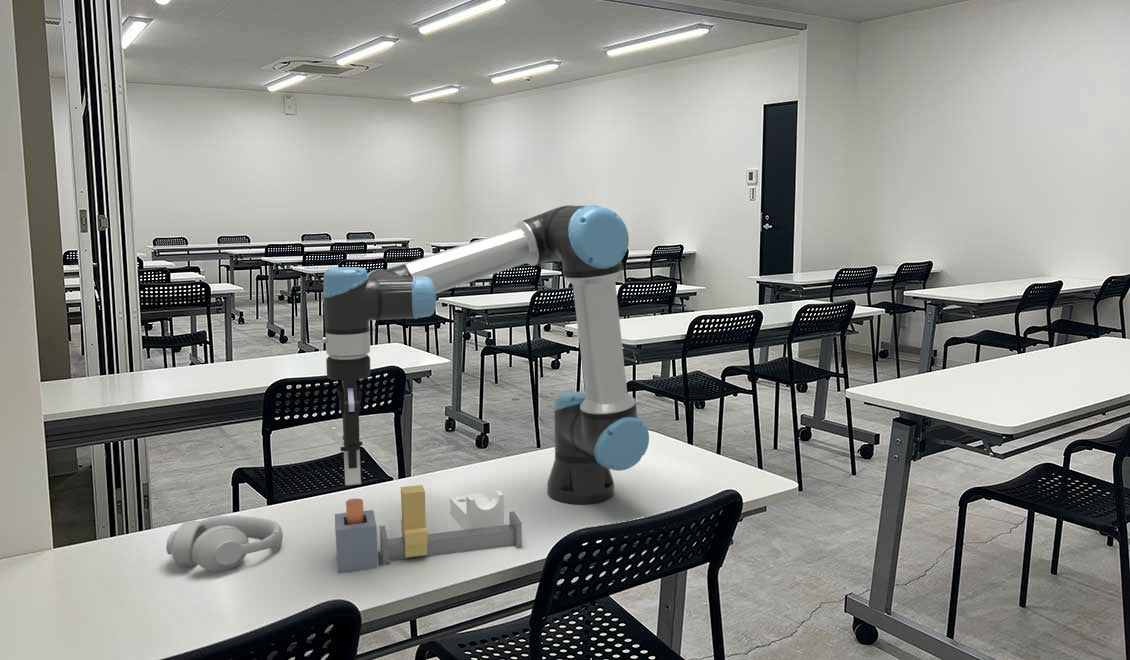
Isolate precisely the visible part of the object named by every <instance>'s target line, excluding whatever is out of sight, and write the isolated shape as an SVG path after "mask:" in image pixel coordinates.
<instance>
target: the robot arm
mask: <svg viewBox="0 0 1130 660" xmlns="http://www.w3.org/2000/svg"><path fill="white" fill-rule="evenodd" d="M629 236H630V235H629V232H628V227H627V225H626V224H625V221H624V220H623V218H621V217H620V215H618V214H617V213H616V212H615V211H613V210H612V209H610V208H607V207H603V206H599V205H594V204H593V205H570V204H569V205H563V206H561V205H560V206H558V207H555V208H553V209H550V210H548V211H545V212H542V213H539V214H537V215H534V216H532V217H529V218H525V219H524V220H520V221H518V222H517V223H516V224H515V227H514V228H512V229H509V230H505V231H502V232H499V233H496V234H493V235H492V234H491V235H489V236H487V237H483V238H480V239H477V240H474V241H471V242H468V243H466V244H462V245H459V246H455V247H453V248H449V249H447V250H443V251H439V252H436V253H433V254H431V255H427V256H425V257H422V258H417V259H415V260H412V261H409V262H406V263H403V264H400V265H396V266H393V267H391V268H387V269H379V268H378V269H374V270H371V271H370V272H368V271H367V269H366V268H365V267H357V266H356V267H355V266H353V267H349V266H347V267H346V266H345V267H343V266H341V267H332V268H331V267H330V268H328V269H327V270H326V271H325V272H324V273H323V291H322V297H323V310H324V311H323V312H324V328H325V329H324V330H325V331H324V332H325V337H322V338H321V342H322V343H323V344H325V352H326V355H328V357H326V359H325V360H326V361H325V362H326V363H325V364H326V377H327V378H328V379H329V380H332V381H341V386H339V385H338V386H337V396H338V399H339V409H340V414H341V415H342V429H343V430H342V432H343V433H342V434H343V435H342V440H343V443H342V444H343V446H340V452H343V462H344V465H343V466H344V485H345V486H353V485H361V484H362V480H361V479H362V478H361V477H362V476H361V473H362V472H361V450H360V449H361V446H363V440H360V412H361V399H362V397H363V396H362V387H361V384H358V385H357V381H358V380H364V379H366V378H368V377H370V375H371V371H372V370H371V357H370V355H368V354H369V353H370V352H371V341H370V340H371V337H370V336H371V335H370V321H383V320H384V321H385V320H403V319H404V320H406V319H414V320H417V319H419V318H427V317H431V316H432V315H433V314H434V312H435V310H436V307H437V294H438V293H441V292H443V291H447V290H450V289H453V288H457V287H460V286H463V285H465V284H467V283H471V282H473V281H476V280H479V279H483V278H486V277H488V276H492V275H495V274H498V273H500V272H504V271H506V270H510V269H512V268H516V267H518V266H521V265H524V264H528V265H529V266H532V267H534V266H537V265H539V264H543V263H549V262H562V271H563V272H562V273H563V277H564V279H565V280H566V281H568V282H569V283H570V284H571V285H572V290H573V297H574V298H573V299H574V300H573V301H574V307H575V316H576V326H577V331H578V332H577V333H578V339H579V350H580V358H581V366H582V373H583V375H582V376H583V384H584V389H585V391H573V392H566V393H562V394H559V395H558V396H557V397H556V399H555V401H554V410H553V413H554V461H553V463H552V464H553V465H552V467H551V470H550V473H549V476H548V479H547V488H546V489H547V495H548V496H549V497H550V498H551V499H554V500H556V501H558V502H563V503H566V504H567V503H568V504H575V505H578V504H579V505H580V504H581V505H585V504H587V505H588V504H596V503H599V502H600V503H601V502H604V501H606V500H609V499H611V498H612V497H613V496H614V495H615V481H614V478H613V476H612V472H611V470H612V471H621V472H622V471H625V470H628V469H630V468H633V467H634V466H636V465H637V464H638V463H639V462H640V461H641V459H642V457H643V456H644V455H646V453H647V450H648V447H649V445H650V433H649V430H648V428H647V425H646V424H645V423H644V422H643V421H642V420H641V419H639V418H638V411H637V402H636V398H634V397H633V396H632V395H631V394H630V393H628V387H627V379H626V370H625V368H626V367H625V361H624V360H625V359H624V349H623V341H622V340H623V339H622V333H621V332H622V331H621V323H620V312H619V304H618V303H619V302H618V295H617V294H618V293H617V287H616V286H617V285H616V280H617V278H618V277H619V275H621V273H622V270H623V269H622V260H623V259H624V256H625V254H626V253H627V252H628V248H629V241H630V240H629V239H630V237H629Z"/></svg>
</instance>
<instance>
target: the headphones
mask: <svg viewBox="0 0 1130 660" xmlns="http://www.w3.org/2000/svg"><path fill="white" fill-rule="evenodd" d="M248 537H252V538H257V537H258V539H261V540H258V541H252V542H249V538H248ZM283 537H284V534H283V530H282V527H281V525H280V524H279V523H278V522H277V521H275V520H270V519H267V518H262V517H256V516H255V517H254V516H245V515H244V516H243V515H217V516H212V517H207V518H205V519H202V520H188V521H183V522H182V523H181V525H179V527H178V528H177V530H174V531H172V532H170V533H169V535H168V538H167V540H166V545H165V546H166V547H165V548H166V553H167V555H170V556H171V557H172V559H173V562H174V564H175V565H177V566H182V567H185V566H186V567H188V566H189V567H195V566H196V565H197V566H200V567H201V568H202V569H204V570H207V571H208V572H213V573H221V572H224V573H225V572H227V571H229V570H232V569H234V568H236V567H237V566H238V565H240V563H241V562H243V560H245V558H246V556H247V555H248V554H253V553H257V552H260V551H265V550H268V549H271V550H273V551H275V550H278V549H279V548H280V547H281V545H282V544H283Z"/></svg>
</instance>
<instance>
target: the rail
mask: <svg viewBox="0 0 1130 660" xmlns="http://www.w3.org/2000/svg"><path fill="white" fill-rule="evenodd" d="M508 512H509V513H508V514H509V515H508V516H509V520H508V521H509V523H508V524H504V525H500V526H492V527H483V528H475V529H459V530H451V531H443V532H433V533H427V542H428V543H427V555H421V556H413V557H405V542H404V539H403V537H402V536H401V537H392V538H388V533H387V528H386V526H385V525H382V526H381V525H380V526H379V544H380V545H379V546H380V554H381V560H382V564H383V565H382V566H385V565H389V564H390V561H397V560H405V559H406V560H407V559H411V558H422V557H427V556H436V555H438V556H439V555H444V554H454V553H459V552H468V551H476V550H477V551H478V550H484V549H493V548H502V547H508V546H515V548H516V549H519V548H522V547H523V543H522V542H523V532H522V531H523V529H522V525H523V523H522V521H521V519H520V518H519V516H518V515H517V513H516V512H515V511H514V510H513V511H512V510H511V511H508Z"/></svg>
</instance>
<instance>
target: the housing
mask: <svg viewBox="0 0 1130 660" xmlns="http://www.w3.org/2000/svg"><path fill="white" fill-rule="evenodd" d="M363 514H364V523H360V524H351V525H347V514H346V512H342V513H340V512H339V513H335V514H334V524H335V525H334V527H335V543H336V544H335V545H336V546H335V547H336V548H335V549H336V562H337V563H336V565H337V572H338V574H340V573H341V574H342V573H346V572H355V571H356V572H357V571H363V570H372V569H379V556H378V555H379V553H378V527H377V525H378V524H377V521H376V518H375V517H376V516H375V511H374V509H370V510H369V509H368V510H363Z"/></svg>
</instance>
